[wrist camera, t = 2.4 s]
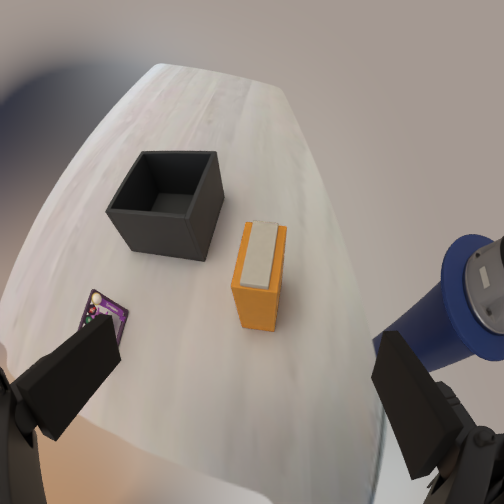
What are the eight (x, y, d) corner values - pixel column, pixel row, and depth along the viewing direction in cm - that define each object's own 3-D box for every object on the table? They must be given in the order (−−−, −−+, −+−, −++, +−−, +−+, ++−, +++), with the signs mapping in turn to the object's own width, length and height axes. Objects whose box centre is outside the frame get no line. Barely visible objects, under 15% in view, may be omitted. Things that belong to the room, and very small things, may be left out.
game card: (74, 357, 25) (96, 288, 30) (56, 349, 27) (76, 287, 32) (115, 373, 31) (132, 311, 35) (93, 365, 33) (110, 308, 37)
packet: (281, 281, 37) (287, 222, 26) (274, 331, 33) (277, 290, 23) (251, 277, 38) (245, 217, 27) (241, 327, 34) (229, 283, 23)
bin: (224, 197, 45) (216, 151, 37) (204, 261, 39) (189, 218, 31) (158, 192, 47) (141, 151, 39) (131, 251, 41) (105, 211, 33)
